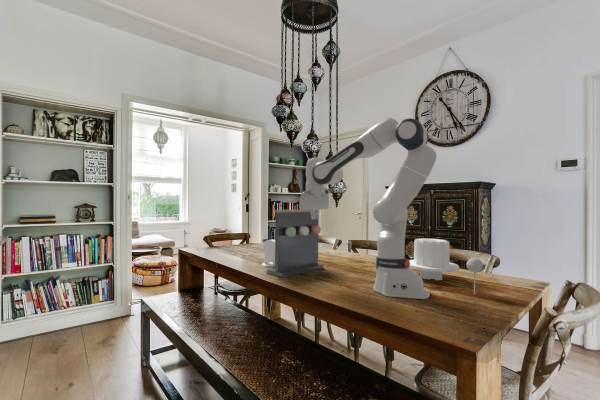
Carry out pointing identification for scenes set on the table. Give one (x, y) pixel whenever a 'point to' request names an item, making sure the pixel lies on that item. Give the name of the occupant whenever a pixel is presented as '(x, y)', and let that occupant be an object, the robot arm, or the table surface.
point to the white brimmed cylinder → (432, 258)
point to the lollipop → (474, 267)
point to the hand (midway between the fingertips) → (314, 219)
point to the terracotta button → (315, 229)
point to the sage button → (290, 232)
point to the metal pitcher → (269, 252)
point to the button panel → (295, 244)
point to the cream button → (303, 230)
